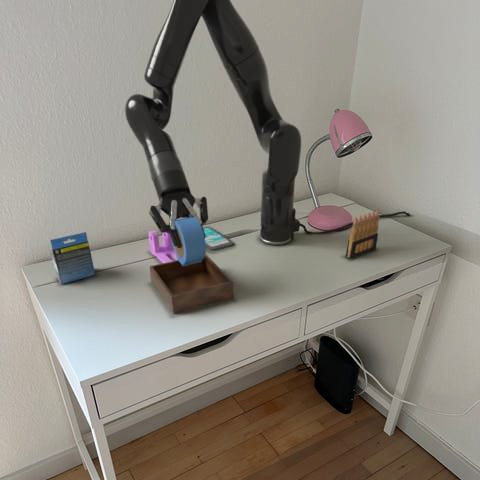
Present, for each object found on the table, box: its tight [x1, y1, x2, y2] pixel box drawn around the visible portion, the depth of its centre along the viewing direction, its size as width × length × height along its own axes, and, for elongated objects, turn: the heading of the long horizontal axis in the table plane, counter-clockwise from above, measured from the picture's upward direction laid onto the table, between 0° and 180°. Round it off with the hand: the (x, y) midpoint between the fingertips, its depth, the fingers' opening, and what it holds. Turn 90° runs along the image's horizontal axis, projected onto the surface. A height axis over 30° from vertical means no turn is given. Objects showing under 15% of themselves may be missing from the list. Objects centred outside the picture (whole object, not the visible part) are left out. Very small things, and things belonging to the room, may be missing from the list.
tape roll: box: [172, 217, 207, 266], centre depth 106 cm, size 5×10×10 cm, turn 27°
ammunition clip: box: [345, 209, 380, 260], centre depth 128 cm, size 11×2×12 cm, turn 126°
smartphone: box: [202, 226, 234, 252], centre depth 138 cm, size 9×1×15 cm
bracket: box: [148, 230, 178, 263], centre depth 126 cm, size 13×6×7 cm, turn 33°
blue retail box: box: [50, 231, 96, 285], centre depth 116 cm, size 9×4×12 cm, turn 123°
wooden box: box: [149, 253, 234, 315], centre depth 112 cm, size 15×16×5 cm
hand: (191, 244), depth 105 cm, fingers closed on tape roll, 5 cm apart
